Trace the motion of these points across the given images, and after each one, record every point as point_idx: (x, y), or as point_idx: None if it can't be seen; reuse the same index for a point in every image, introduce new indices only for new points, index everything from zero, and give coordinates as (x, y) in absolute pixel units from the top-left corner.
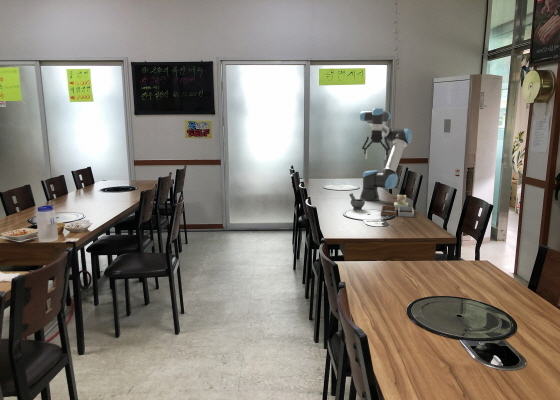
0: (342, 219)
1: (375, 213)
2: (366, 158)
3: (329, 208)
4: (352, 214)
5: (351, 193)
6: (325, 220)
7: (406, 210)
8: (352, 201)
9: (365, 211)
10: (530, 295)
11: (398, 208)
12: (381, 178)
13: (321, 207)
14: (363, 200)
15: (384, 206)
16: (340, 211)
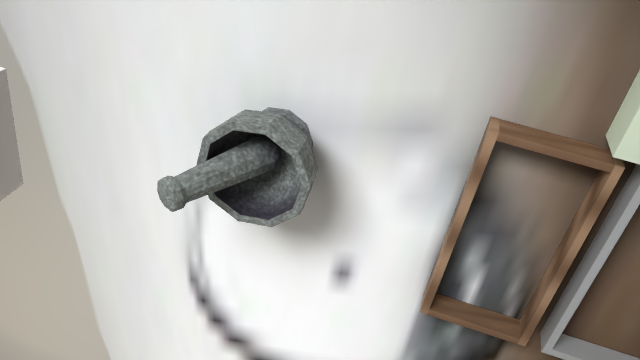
0: (192, 351)
1: (395, 254)
2: (7, 191)
3: (84, 91)
4: (242, 264)
5: (169, 206)
6: (120, 354)
7: None
8: (211, 196)
9: (333, 194)
10: None
11: (605, 245)
12: None
13: (26, 57)
14: (299, 177)
15: (511, 143)
16: None
